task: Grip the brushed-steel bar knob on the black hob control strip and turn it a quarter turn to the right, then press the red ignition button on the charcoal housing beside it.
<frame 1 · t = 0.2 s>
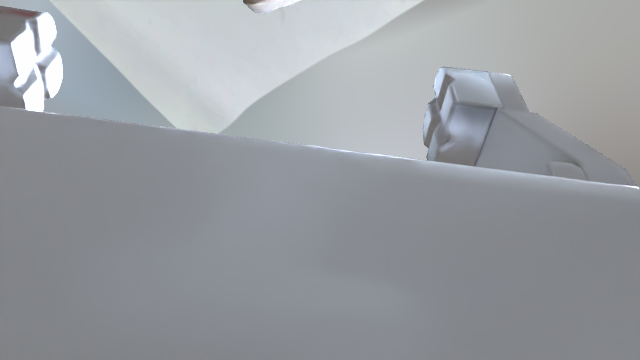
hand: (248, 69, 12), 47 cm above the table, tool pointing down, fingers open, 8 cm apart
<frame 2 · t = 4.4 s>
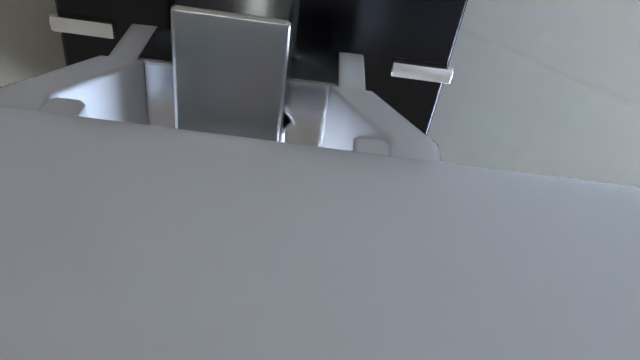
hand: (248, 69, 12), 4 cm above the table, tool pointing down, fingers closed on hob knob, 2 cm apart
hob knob: (242, 96, 11), point 5 cm above the table, hinge at 0.0°, touching gripper
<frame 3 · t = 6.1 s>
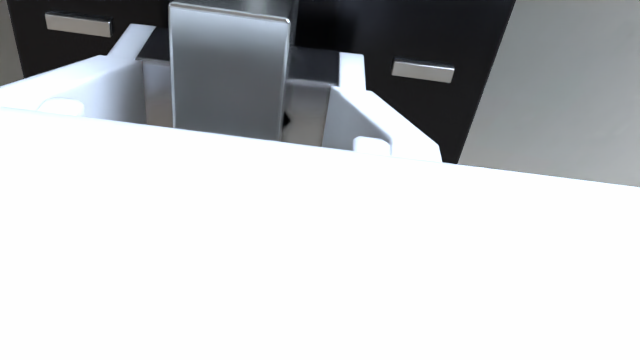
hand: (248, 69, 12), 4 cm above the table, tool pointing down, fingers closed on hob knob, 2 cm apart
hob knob: (240, 95, 11), point 5 cm above the table, hinge at -90.0°, touching gripper
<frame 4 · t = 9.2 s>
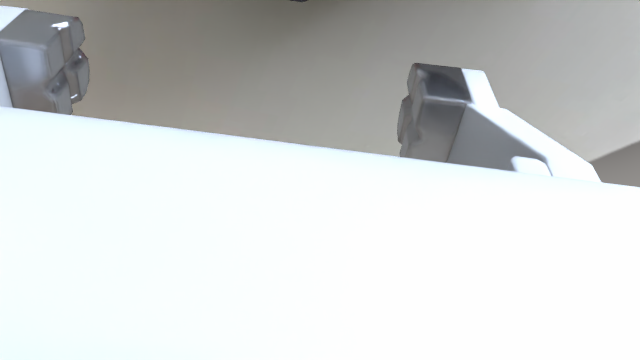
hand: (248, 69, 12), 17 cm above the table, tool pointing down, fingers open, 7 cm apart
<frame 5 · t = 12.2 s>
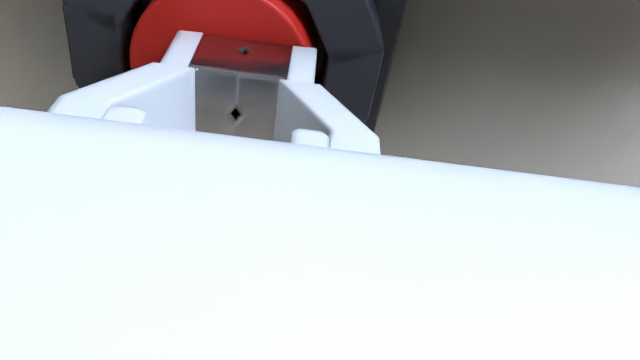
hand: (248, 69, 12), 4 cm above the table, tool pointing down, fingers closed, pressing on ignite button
ignite button: (227, 57, 13), point 4 cm above the table, slide at -0.9 cm, touching gripper
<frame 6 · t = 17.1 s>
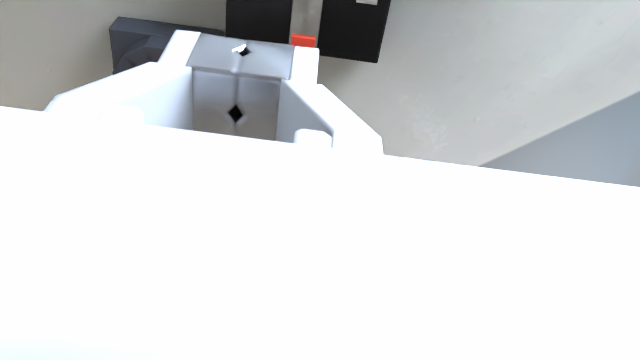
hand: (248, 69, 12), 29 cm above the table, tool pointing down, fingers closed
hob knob: (307, 4, 36), point 5 cm above the table, hinge at -89.9°
igniter: (173, 65, 44), on the table
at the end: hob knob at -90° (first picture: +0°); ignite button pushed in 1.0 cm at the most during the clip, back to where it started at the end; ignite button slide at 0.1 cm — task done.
